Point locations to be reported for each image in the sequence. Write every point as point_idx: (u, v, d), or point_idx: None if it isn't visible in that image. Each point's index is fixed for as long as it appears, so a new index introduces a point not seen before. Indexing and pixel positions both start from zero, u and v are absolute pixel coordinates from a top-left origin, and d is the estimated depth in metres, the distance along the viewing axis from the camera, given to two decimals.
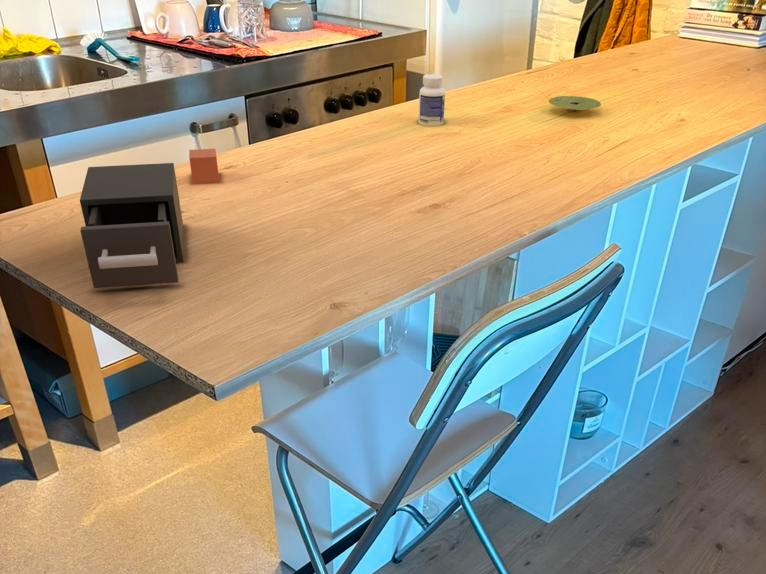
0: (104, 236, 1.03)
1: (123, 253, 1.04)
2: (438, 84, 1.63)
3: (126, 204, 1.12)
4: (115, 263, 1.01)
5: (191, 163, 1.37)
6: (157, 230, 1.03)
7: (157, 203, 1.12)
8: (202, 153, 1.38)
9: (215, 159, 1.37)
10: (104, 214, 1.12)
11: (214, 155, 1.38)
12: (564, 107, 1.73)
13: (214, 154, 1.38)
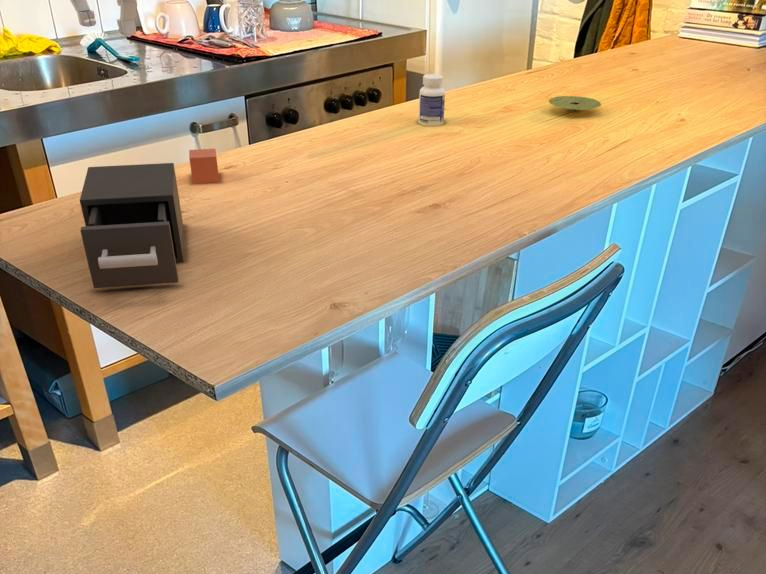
0: (104, 236, 1.03)
1: (123, 253, 1.04)
2: (438, 84, 1.63)
3: (126, 204, 1.12)
4: (115, 263, 1.01)
5: (191, 163, 1.37)
6: (157, 230, 1.03)
7: (157, 203, 1.12)
8: (202, 153, 1.38)
9: (215, 159, 1.37)
10: (104, 214, 1.12)
11: (214, 155, 1.38)
12: (564, 107, 1.73)
13: (214, 154, 1.38)
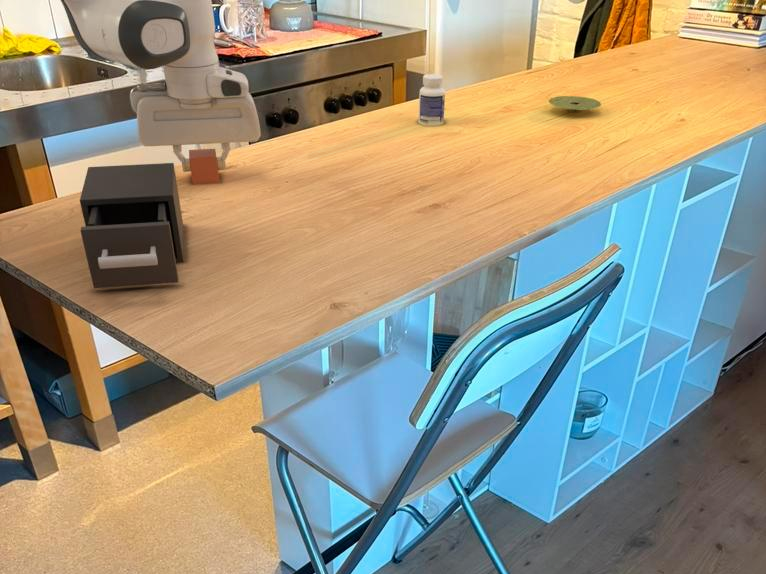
0: (104, 236, 1.03)
1: (123, 253, 1.04)
2: (438, 84, 1.63)
3: (126, 204, 1.12)
4: (115, 263, 1.01)
5: (190, 163, 1.37)
6: (157, 230, 1.03)
7: (157, 203, 1.12)
8: (202, 153, 1.38)
9: (215, 159, 1.37)
10: (104, 214, 1.12)
11: (214, 155, 1.38)
12: (564, 107, 1.73)
13: (214, 154, 1.38)
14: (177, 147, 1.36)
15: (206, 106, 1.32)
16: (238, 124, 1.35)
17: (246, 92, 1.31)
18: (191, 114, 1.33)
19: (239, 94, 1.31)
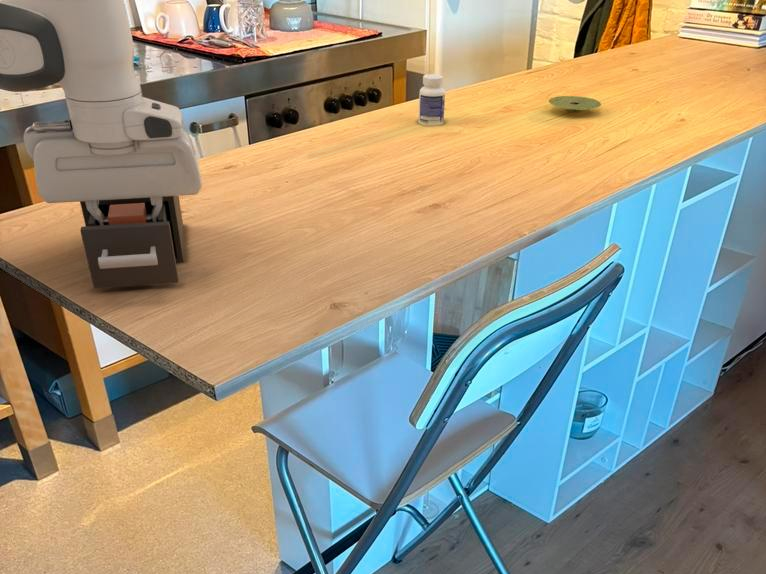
0: (104, 236, 1.03)
1: (123, 253, 1.04)
2: (438, 84, 1.63)
3: None
4: (115, 263, 1.01)
5: (110, 224, 1.04)
6: (157, 230, 1.03)
7: None
8: (126, 210, 1.05)
9: (142, 218, 1.05)
10: (104, 214, 1.12)
11: (141, 213, 1.05)
12: (564, 107, 1.73)
13: (141, 211, 1.05)
14: (91, 203, 1.03)
15: (126, 151, 0.99)
16: (171, 173, 1.02)
17: (179, 132, 0.98)
18: (107, 161, 1.00)
19: (169, 135, 0.98)
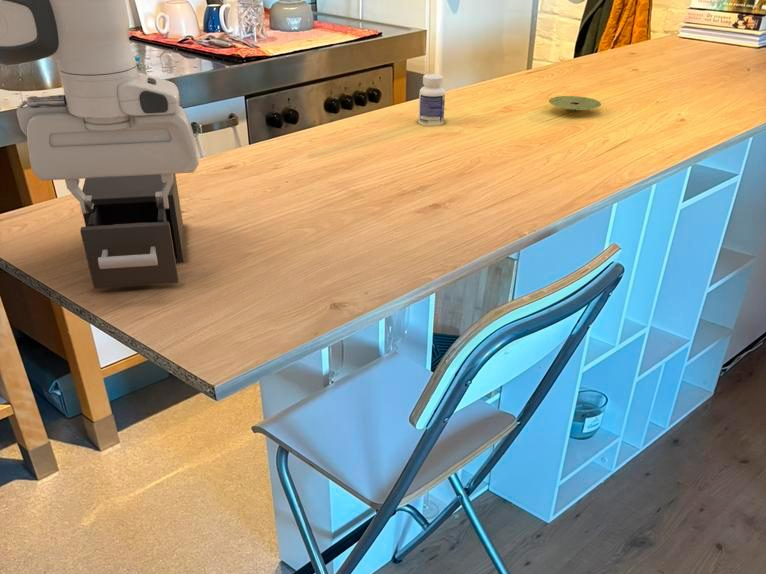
0: (104, 237, 1.02)
1: (123, 253, 1.04)
2: (438, 84, 1.63)
3: (126, 204, 1.12)
4: (115, 263, 1.01)
5: None
6: (157, 231, 1.03)
7: None
8: None
9: None
10: (104, 214, 1.12)
11: None
12: (564, 107, 1.73)
13: None
14: (72, 182, 1.01)
15: (121, 127, 0.97)
16: (167, 150, 1.00)
17: (175, 108, 0.96)
18: (102, 137, 0.98)
19: (165, 111, 0.96)
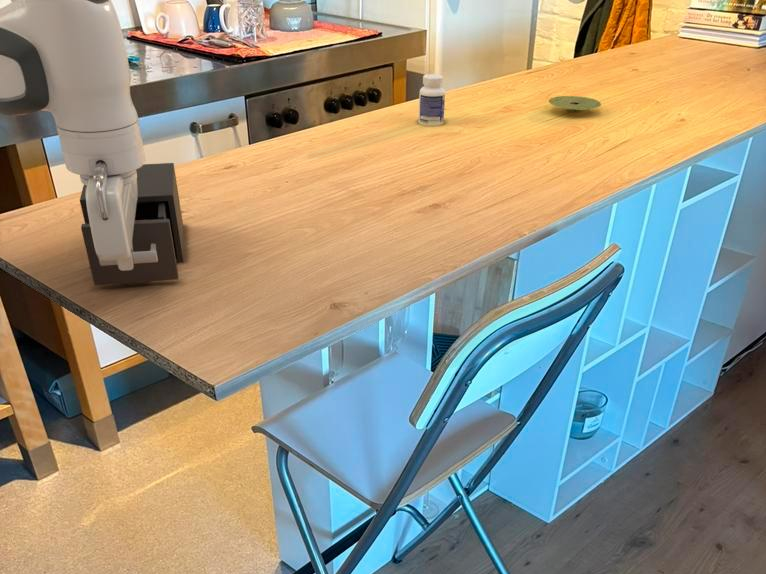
0: None
1: None
2: (438, 84, 1.63)
3: None
4: (116, 260, 1.01)
5: None
6: (157, 228, 1.04)
7: None
8: None
9: None
10: None
11: None
12: (564, 107, 1.73)
13: None
14: None
15: None
16: (132, 185, 1.01)
17: None
18: (124, 191, 0.94)
19: None
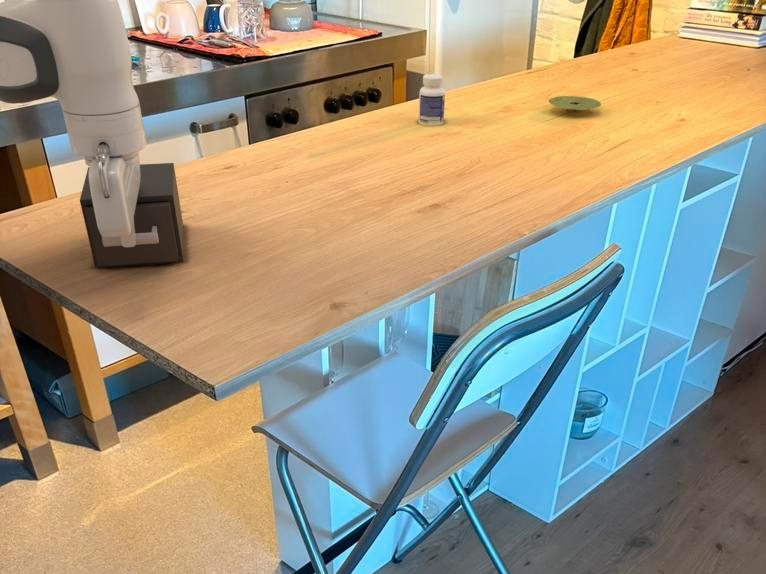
0: None
1: None
2: (438, 84, 1.63)
3: None
4: (119, 241, 1.06)
5: None
6: (158, 210, 1.09)
7: None
8: None
9: None
10: None
11: None
12: (564, 107, 1.73)
13: None
14: None
15: None
16: (135, 168, 1.06)
17: None
18: (126, 172, 0.99)
19: None
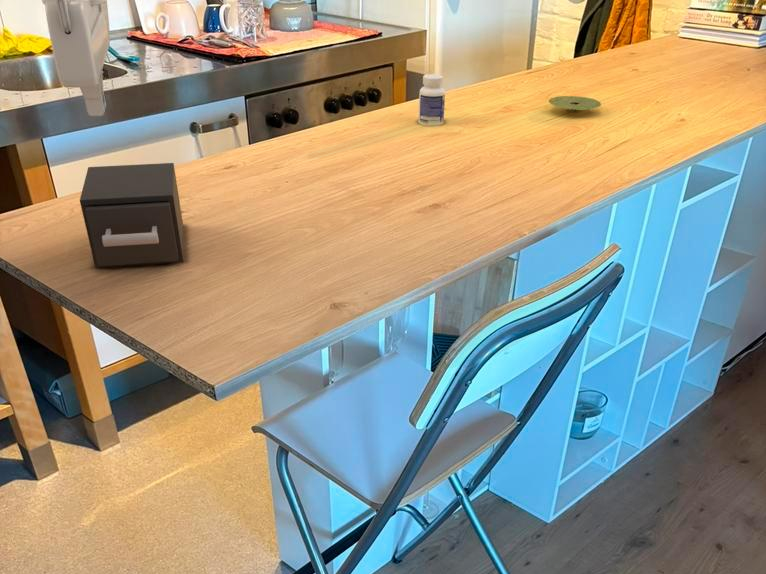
0: (108, 216, 1.08)
1: (126, 232, 1.10)
2: (438, 84, 1.63)
3: None
4: (119, 241, 1.06)
5: None
6: (158, 210, 1.09)
7: None
8: None
9: None
10: None
11: None
12: (564, 107, 1.73)
13: None
14: None
15: None
16: (103, 22, 0.90)
17: None
18: (92, 16, 0.83)
19: None
